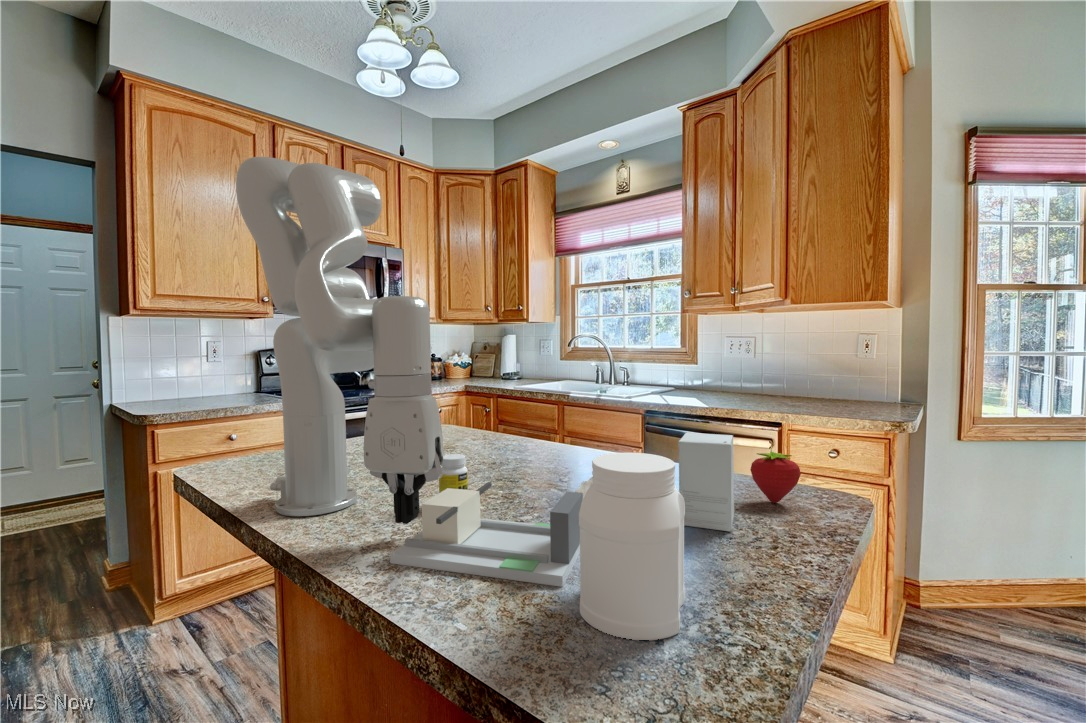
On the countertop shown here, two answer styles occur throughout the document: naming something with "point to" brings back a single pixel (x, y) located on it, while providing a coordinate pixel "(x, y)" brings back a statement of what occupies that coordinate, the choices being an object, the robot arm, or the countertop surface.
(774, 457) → the strawberry
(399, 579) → the countertop surface
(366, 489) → the countertop surface
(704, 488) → the supplement box
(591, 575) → the jar
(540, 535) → the board
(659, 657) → the countertop surface
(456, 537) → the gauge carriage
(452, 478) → the supplement bottle
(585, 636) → the countertop surface
